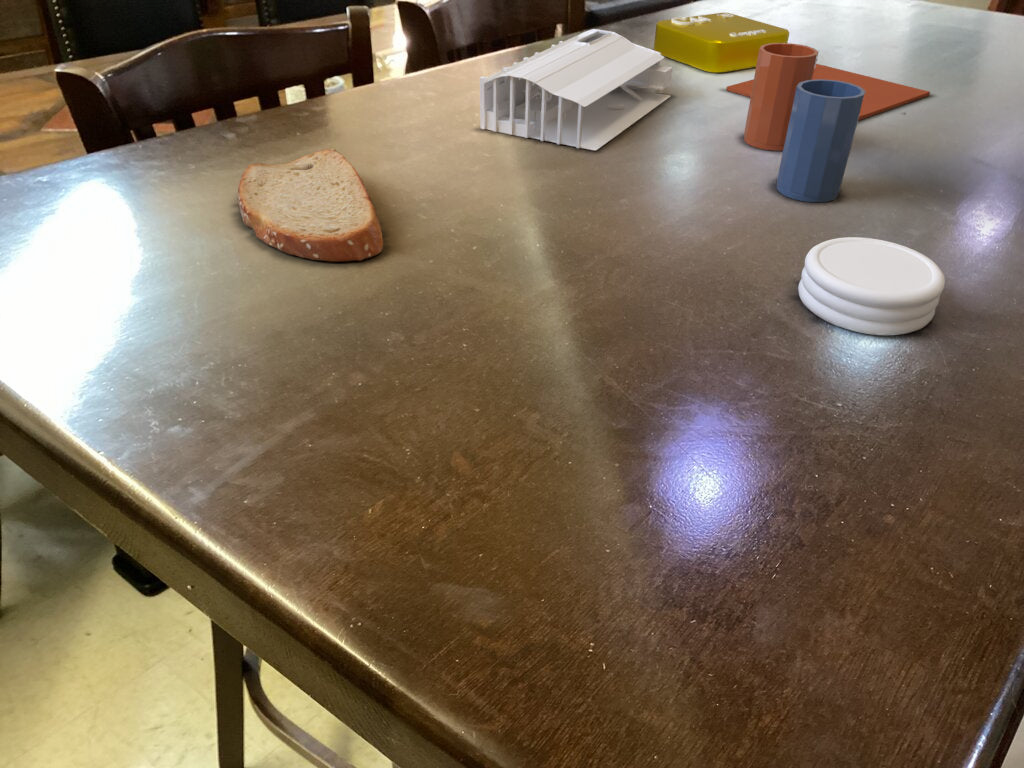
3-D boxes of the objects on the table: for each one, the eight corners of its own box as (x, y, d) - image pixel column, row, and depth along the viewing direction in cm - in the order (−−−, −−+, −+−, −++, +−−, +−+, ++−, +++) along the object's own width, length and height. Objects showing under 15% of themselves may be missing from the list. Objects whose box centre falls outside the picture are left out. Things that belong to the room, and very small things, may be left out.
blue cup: (850, 192, 81) (878, 90, 75) (815, 207, 78) (841, 102, 72) (799, 174, 85) (821, 75, 79) (763, 188, 82) (784, 86, 76)
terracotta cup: (808, 143, 93) (829, 51, 87) (776, 155, 90) (795, 60, 84) (765, 129, 96) (782, 40, 91) (732, 140, 93) (748, 48, 87)
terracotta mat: (929, 95, 108) (930, 91, 108) (845, 125, 98) (846, 121, 98) (812, 66, 120) (813, 62, 119) (725, 90, 109) (726, 86, 109)
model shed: (592, 153, 89) (597, 88, 85) (478, 130, 95) (477, 68, 91) (672, 95, 107) (679, 39, 103) (571, 79, 113) (574, 25, 109)
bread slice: (365, 269, 67) (361, 227, 65) (176, 239, 71) (166, 198, 69) (443, 188, 81) (442, 151, 78) (282, 167, 85) (276, 131, 83)
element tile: (713, 75, 115) (718, 39, 112) (647, 51, 125) (651, 17, 123) (789, 62, 121) (796, 27, 118) (721, 40, 132) (726, 8, 129)
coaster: (813, 262, 69) (823, 224, 67) (940, 293, 65) (955, 253, 63) (781, 315, 62) (791, 273, 60) (921, 352, 58) (937, 310, 56)
